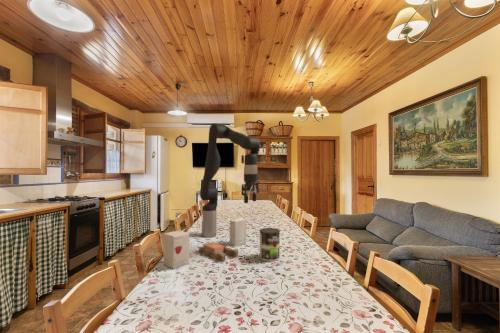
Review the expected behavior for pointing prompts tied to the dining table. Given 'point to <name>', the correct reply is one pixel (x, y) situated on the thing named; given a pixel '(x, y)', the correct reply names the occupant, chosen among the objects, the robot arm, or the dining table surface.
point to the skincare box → (237, 232)
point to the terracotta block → (214, 247)
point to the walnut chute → (217, 255)
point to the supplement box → (176, 249)
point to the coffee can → (269, 244)
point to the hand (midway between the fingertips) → (250, 202)
